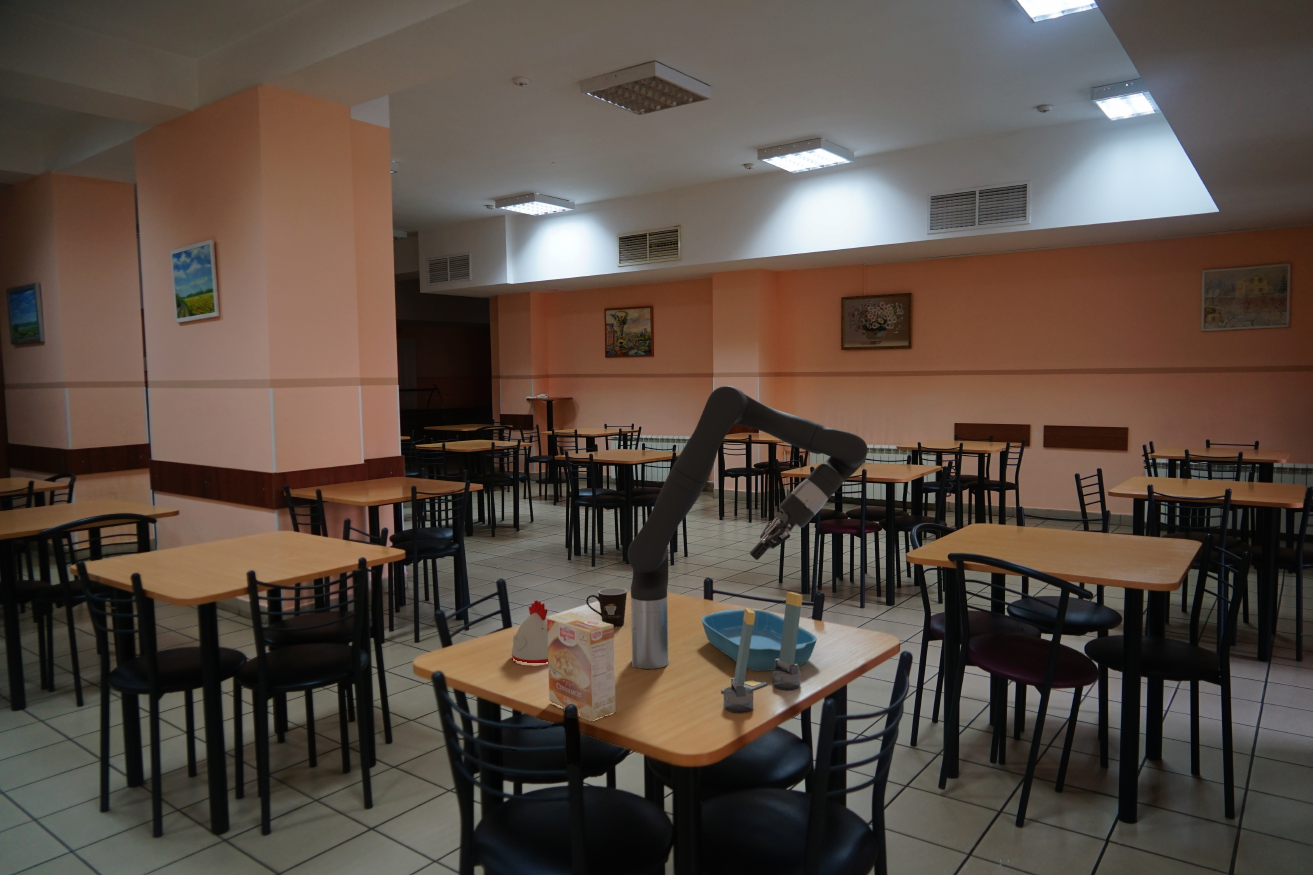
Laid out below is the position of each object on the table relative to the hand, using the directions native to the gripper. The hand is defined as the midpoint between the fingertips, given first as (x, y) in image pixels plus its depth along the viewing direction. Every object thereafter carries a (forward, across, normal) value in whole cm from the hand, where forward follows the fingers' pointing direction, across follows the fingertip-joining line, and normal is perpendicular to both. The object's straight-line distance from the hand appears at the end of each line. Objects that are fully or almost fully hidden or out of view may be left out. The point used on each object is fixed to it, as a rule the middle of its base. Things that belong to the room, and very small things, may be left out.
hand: (753, 556), depth 185 cm
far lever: (+13, +3, +23) cm, 26 cm away
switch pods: (+21, +8, +21) cm, 31 cm away
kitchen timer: (+58, -27, -15) cm, 66 cm away
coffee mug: (+44, -55, -2) cm, 70 cm away
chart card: (+23, +3, +19) cm, 30 cm away
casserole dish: (+18, -22, +25) cm, 38 cm away
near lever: (+22, +14, +13) cm, 30 cm away
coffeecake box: (+50, +10, -7) cm, 51 cm away
